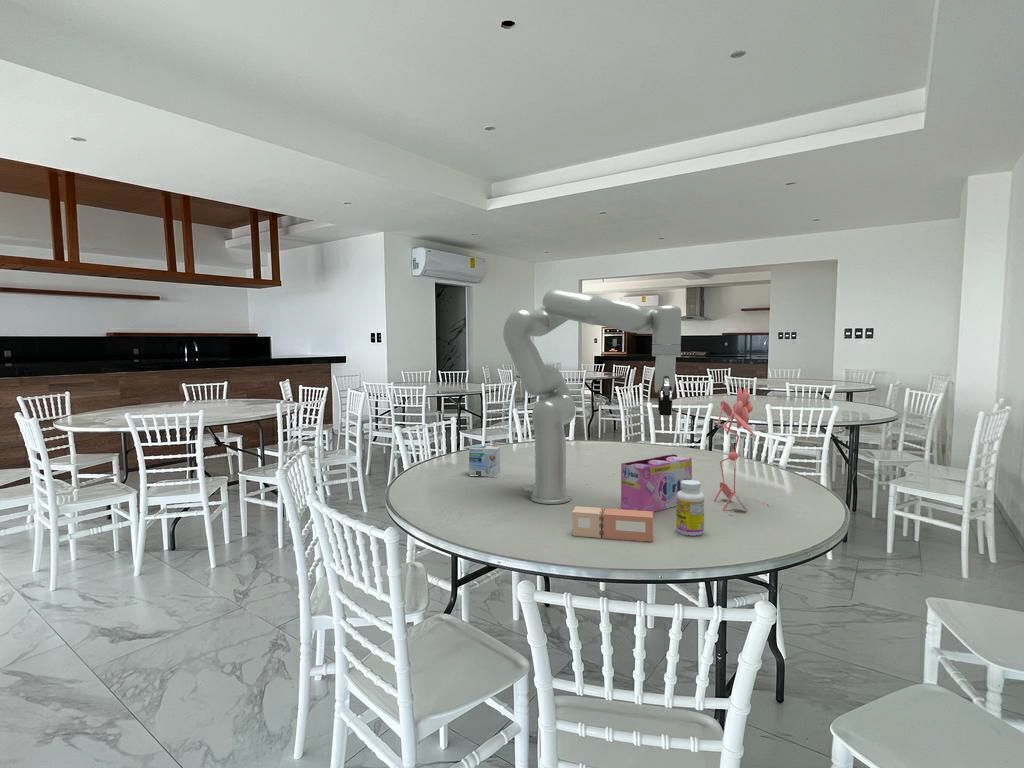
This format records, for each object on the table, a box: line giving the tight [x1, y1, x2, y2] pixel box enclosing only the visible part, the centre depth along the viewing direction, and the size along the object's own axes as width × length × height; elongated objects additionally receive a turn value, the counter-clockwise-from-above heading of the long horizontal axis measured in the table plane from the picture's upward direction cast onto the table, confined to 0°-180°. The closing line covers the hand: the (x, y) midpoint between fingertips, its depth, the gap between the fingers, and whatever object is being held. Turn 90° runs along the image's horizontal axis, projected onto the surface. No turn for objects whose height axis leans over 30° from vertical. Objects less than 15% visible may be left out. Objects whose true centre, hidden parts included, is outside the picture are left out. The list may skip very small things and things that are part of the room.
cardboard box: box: [601, 507, 654, 543], centre depth 133 cm, size 12×5×6 cm, turn 75°
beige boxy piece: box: [572, 505, 604, 539], centre depth 136 cm, size 7×5×6 cm
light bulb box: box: [468, 444, 501, 476], centre depth 200 cm, size 11×7×11 cm, turn 81°
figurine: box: [713, 386, 770, 517], centre depth 157 cm, size 15×26×35 cm, turn 175°
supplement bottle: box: [675, 479, 705, 537], centre depth 136 cm, size 7×7×13 cm
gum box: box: [620, 454, 693, 513], centre depth 159 cm, size 24×8×14 cm, turn 124°
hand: (664, 413), depth 149 cm, fingers open, 9 cm apart
